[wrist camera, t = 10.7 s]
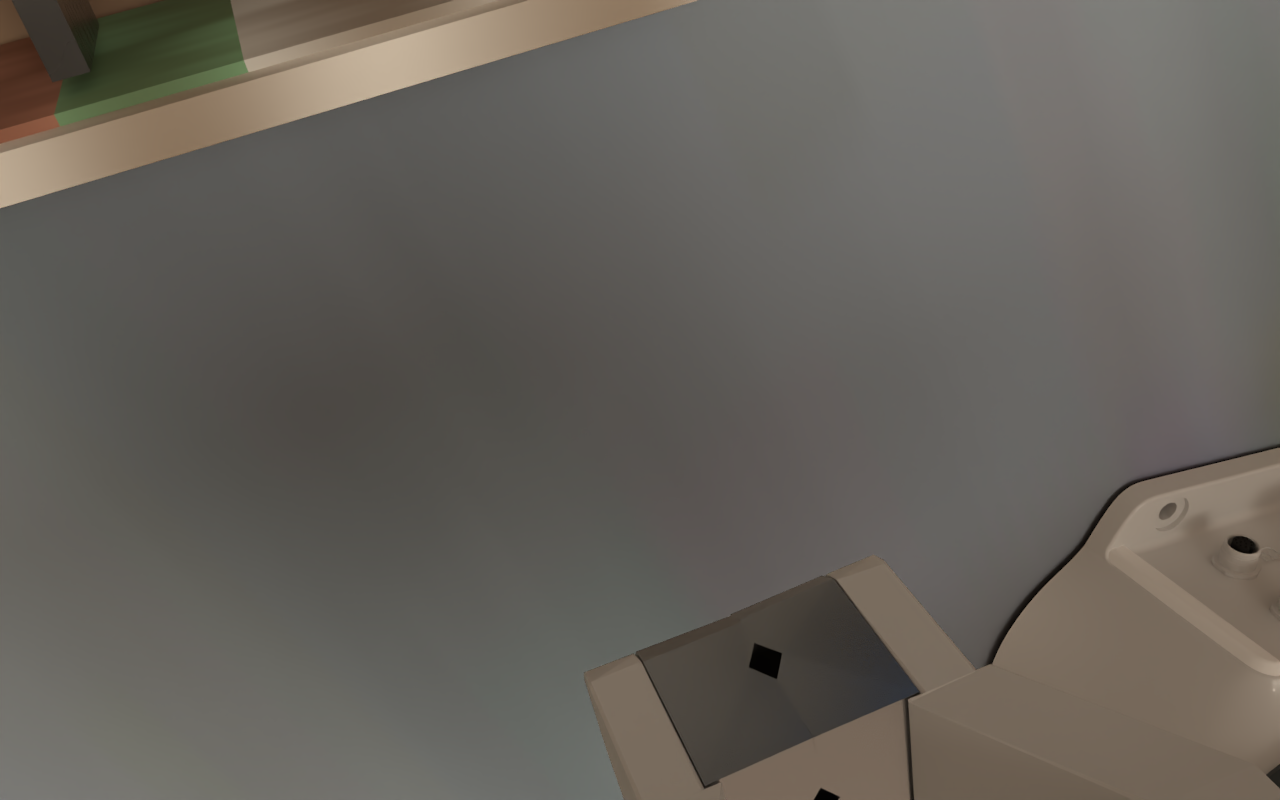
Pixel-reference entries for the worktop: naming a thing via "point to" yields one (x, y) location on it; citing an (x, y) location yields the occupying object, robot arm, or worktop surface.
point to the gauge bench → (245, 71)
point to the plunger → (61, 34)
